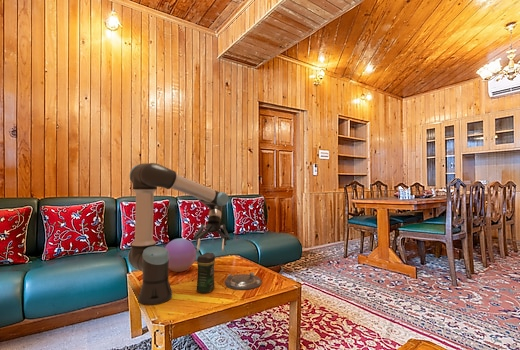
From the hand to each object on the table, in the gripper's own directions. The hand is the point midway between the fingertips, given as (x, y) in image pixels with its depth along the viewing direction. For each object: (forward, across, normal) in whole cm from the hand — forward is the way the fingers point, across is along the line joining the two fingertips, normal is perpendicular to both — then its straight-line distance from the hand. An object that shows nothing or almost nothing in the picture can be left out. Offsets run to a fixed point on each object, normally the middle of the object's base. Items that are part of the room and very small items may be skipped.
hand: (210, 250), depth 156 cm
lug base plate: (+12, -18, -13) cm, 26 cm away
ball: (-1, +22, -27) cm, 35 cm away
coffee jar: (+20, 0, -6) cm, 21 cm away
